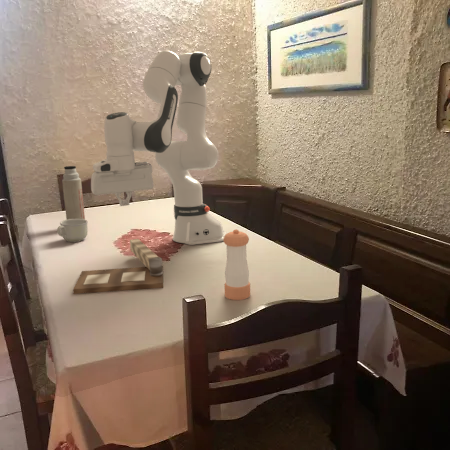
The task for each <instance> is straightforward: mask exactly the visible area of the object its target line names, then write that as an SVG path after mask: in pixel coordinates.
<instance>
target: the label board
mask: <svg viewBox="0 0 450 450" xmlns="http://www.w3.org/2000/svg"><path fill="white" fill-rule="evenodd" d="M162 269H163V271H162V272H161V273H150V270H149V269H148V268H147V267H146V266H140V267H124V268H123V267H122V268H108V269H107V268H105V269H92V270H82V271H81V272H80V275H79V276H78V278H77V280H76V283H75V284H74V287H73V289H72V293H73V295H77V294H78V295H80V294H92V293H105V292H106V293H107V292H120V291H121V292H122V291H134V290H146V289H147V290H148V289H162V288H164V265H162Z"/></svg>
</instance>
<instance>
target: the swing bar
mask: <svg viewBox="0 0 450 450" xmlns="http://www.w3.org/2000/svg"><path fill="white" fill-rule="evenodd" d="M129 245H130V251H131V252H132V253H133V255H134V256H135V257H136V258H137V259H138V260H139V261H140V262H141V263H142V264H143V265H144V267H147V268H148V269H149V270H150V273H161V272H162V271H163V272H164V268H163V269H162V266H163V260H162V259H163V258H162V257H160V256H158V255H157V254H156V253H155V252H154V251H153V250H151V249H150V248H149V247H148V246H147V245H146V244H144V242H142V241H141V240H140V239H139V238H134V239H129Z"/></svg>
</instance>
